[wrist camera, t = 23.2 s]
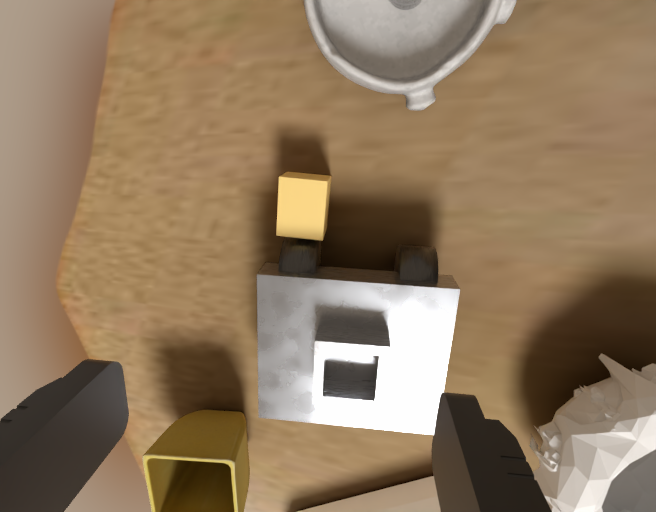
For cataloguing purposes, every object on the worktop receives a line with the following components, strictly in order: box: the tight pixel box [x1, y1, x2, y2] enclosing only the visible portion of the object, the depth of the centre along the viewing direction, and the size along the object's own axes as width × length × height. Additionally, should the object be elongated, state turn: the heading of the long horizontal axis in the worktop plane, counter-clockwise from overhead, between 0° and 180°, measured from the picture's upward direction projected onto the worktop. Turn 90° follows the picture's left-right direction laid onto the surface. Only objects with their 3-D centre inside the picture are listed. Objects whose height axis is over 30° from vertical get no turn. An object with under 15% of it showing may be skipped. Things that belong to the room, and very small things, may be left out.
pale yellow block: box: [276, 172, 331, 241], centre depth 35 cm, size 4×5×4 cm
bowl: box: [530, 353, 656, 512], centre depth 36 cm, size 21×20×10 cm
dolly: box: [257, 237, 460, 435], centre depth 36 cm, size 16×18×10 cm
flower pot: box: [143, 410, 250, 512], centre depth 42 cm, size 9×9×9 cm
